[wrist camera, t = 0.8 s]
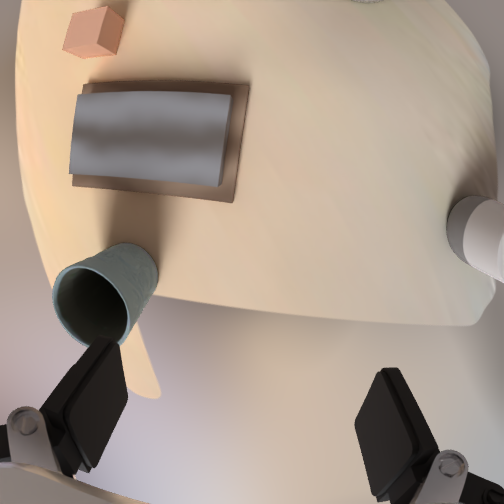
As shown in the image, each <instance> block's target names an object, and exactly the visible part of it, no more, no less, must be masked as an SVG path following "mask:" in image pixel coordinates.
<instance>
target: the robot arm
mask: <svg viewBox="0 0 504 504" xmlns="http://www.w3.org/2000/svg"><path fill="white" fill-rule="evenodd" d="M353 1H358V2H365V3H373V2H380V1H383V0H353ZM127 400H128V393H127V387H126V382H125V377H124V371H123V366H122V360H121V353H120V347H119V344H118V343H116V342H115V339H114V338H111V337H106V336H102V335H99V336H97V338H96V339H95V340H94V341H93V342H92V344H91V345H90V346H89V347H88V349H87V350H86V351H85V352H84V354H83V355H82V356H81V358H80V359H79V360H78V361H77V363H76V364H74V365H73V366H72V367H71V368H70V369H69V371H68V372H67V373H66V375H65V376H64V377H63V379H62V380H61V381H60V383H59V384H58V385H57V386H56V388H55V389H54V390H53V392H52V393H51V395H50V396H49V397H48V398H47V400H46V401H45V403H44V404H43V405H42V407H41V408H40V409H39V410H37V409H35V408H33V407H29V406H28V407H27V406H25V407H20V408H17V409H15V410H14V411H12V412H11V413H10V415H9V416H8V419H7V424H5V425H0V504H149V503H145V502H141V501H138V500H134V499H131V498H128V497H124V496H121V495H118V494H115V493H112V492H108V491H105V490H103V489H100V488H97V487H94V486H91V485H89V484H86V483H83V482H81V481H78V480H77V479H76V477H75V474H76V473H77V471H78V469H79V470H81V471H84V472H86V473H89V472H90V470H91V468H92V467H93V468H95V467H96V466H97V465H98V462H99V460H100V458H101V456H102V454H103V451H104V449H105V447H106V445H107V443H108V441H109V439H110V437H111V434H112V432H113V430H114V428H115V426H116V424H117V422H118V420H119V418H120V415H121V414H122V412H123V410H124V407H125V406H126V403H127ZM355 430H356V434H357V437H358V441H359V445H360V449H361V453H362V456H363V460H364V464H365V468H366V472H367V476H368V480H369V484H370V489H371V493H372V495H373V496H376V498H377V502H383V501H388V500H390V503H391V504H504V489H503V488H502V487H501V486H500V485H498V484H496V483H493V482H491V481H488V480H486V479H484V478H481V477H479V476H477V475H474V474H472V473H470V472H468V467H469V466H468V463H467V460H466V459H465V457H464V456H463V455H462V454H461V453H459V452H457V451H454V450H444V451H441V452H440V451H439V449H438V445H437V443H436V441H435V439H434V437H433V435H432V433H431V430H430V428H429V426H428V424H427V422H426V420H425V418H424V416H423V414H422V412H421V410H420V408H419V406H418V404H417V402H416V400H415V398H414V397H413V394H412V392H411V391H410V389H409V387H408V385H407V383H406V381H405V379H404V377H403V375H402V374H401V372H400V370H399V369H398V368H383V369H382V370H381V371H380V372H377V374H376V376H375V378H374V381H373V383H372V385H371V388H370V389H369V392H368V394H367V396H366V398H365V400H364V403H363V405H362V407H361V409H360V411H359V413H358V415H357V417H356V419H355Z"/></svg>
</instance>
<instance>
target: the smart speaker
mask: <svg viewBox="0 0 504 504" xmlns="http://www.w3.org/2000/svg"><path fill="white" fill-rule="evenodd" d="M447 238H448V242H449V244H450V247H451V248H452V250H453V252H454V253H455V254H456V255H457V256H458V257H459V258H460V259H461V260H462V261H464V262H465V263H467V264H468V265H470V266H472V267H474V268H476V269H478V270H480V271H482V272H483V273H485V274H487V275H489V276H491V277H493V278H495V279H497V280H499V281H501V282H503V283H504V204H503V203H500V202H498V201H496V200H493V199H490V198H487V197H484V196H469V197H466V198H464V199H462V200H461V201H459V202H458V203H457V204H456V205H455V206H454V208H453V209H452V211H451V213H450V215H449V218H448V222H447Z"/></svg>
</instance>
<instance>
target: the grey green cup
mask: <svg viewBox="0 0 504 504" xmlns="http://www.w3.org/2000/svg"><path fill="white" fill-rule="evenodd" d="M157 282H158V272H157V268H156V265H155V263H154V261H153V259H152V257H151V256H150V255H149V254H148V253H147V252H146V251H145V250H144V249H143V248H141V247H139V246H137V245H135V244H131V243H121V244H117V245H115V246H112V247H110V248H108V249H106V250H104V251H102V252H100V253H98V254H96V255H95V256H93V257H90V258H87V259H85V260H83V261H80V262H77V263H75V264H73V265H71V266H68V267H67V268H65V269H64V270H62V271H61V272H60V273H59V275H58V276H57V278H56V281H55V284H54V286H53V293H52V299H53V305H54V309H55V312H56V315H57V317H58V319H59V321H60V323H61V324H62V326H63V327H64V329H65V330H66V331H67V332H68V334H69V335H71V337H72V338H74V339H75V340H76V341H78V342H79V343H80V344H82V345H84V346H86V347H89V346H90V345H91V344H92V342H93V341H94V340H95V339H96V338H97V336H99V335H102V336H106V337H111V338H114V339H115V342H116V343H118V344H119V346H120V345H121V344H122V343H123V342H124V341H125V340H126V338H127V336H128V335H129V333H130V331H131V329H132V328H133V326H134V324H135V323H136V321H137V319H138V318H139V316H140V314H141V313H142V311H143V308H144V307H145V306H146V304H147V303H148V301H149V299H150V297H151V296H152V294H153V293H154V291H155V289H156V287H157Z"/></svg>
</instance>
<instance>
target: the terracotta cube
mask: <svg viewBox="0 0 504 504" xmlns="http://www.w3.org/2000/svg"><path fill="white" fill-rule="evenodd" d="M124 22H125V20H124V19H123V18H121V17H120V16H119V15H118V14H117V13H115V12H114V11H113V10H112V9H111V8H110V7H108V6H105V7H100V8H95V9H90V10H86V11H82V12H77V13H73V15H72V18H71V21H70V24H69V27H68V31H67V34H66V37H65V41H64V45H63V48H62V50H64V51H66V52H69V53H71V54H73V55H76V56H78V57H80V58H82V59H86V58H93V57H101V56H110V55H116V53H117V49H118V45H119V41H120V37H121V33H122V29H123V26H124Z"/></svg>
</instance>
